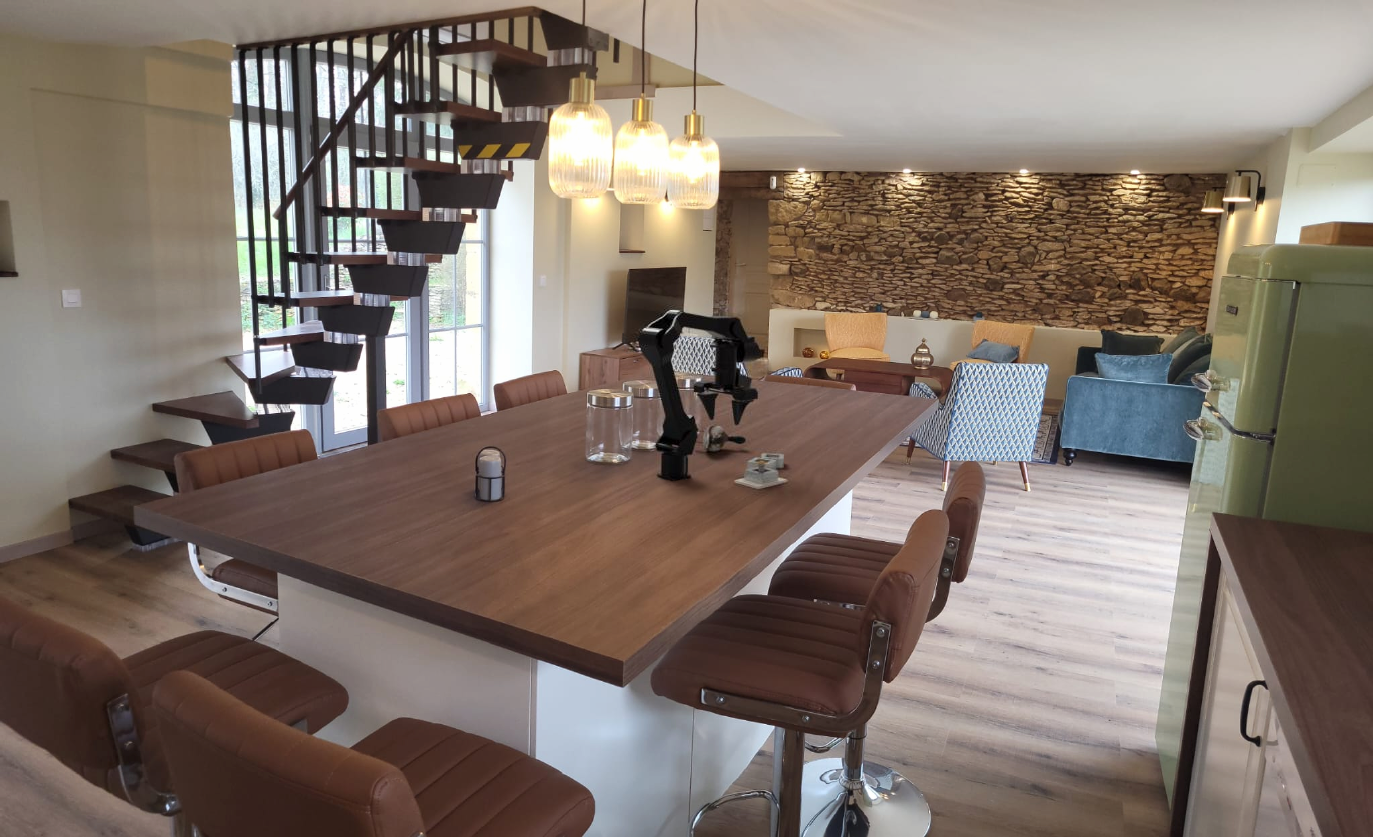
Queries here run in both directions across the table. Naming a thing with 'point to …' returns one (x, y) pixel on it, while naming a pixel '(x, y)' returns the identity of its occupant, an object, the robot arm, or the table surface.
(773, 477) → the end link
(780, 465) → the grey square frame
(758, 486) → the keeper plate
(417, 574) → the table surface
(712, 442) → the decorative duck model
